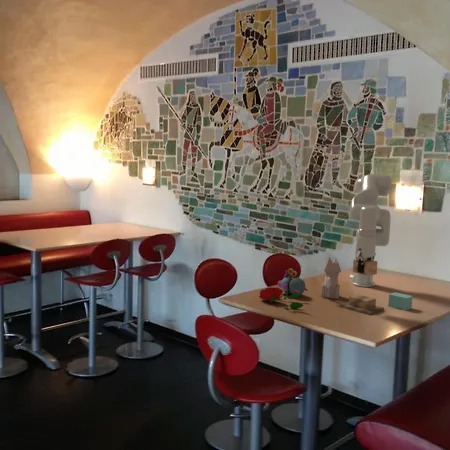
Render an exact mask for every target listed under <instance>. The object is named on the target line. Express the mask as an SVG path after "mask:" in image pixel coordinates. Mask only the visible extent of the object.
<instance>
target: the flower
mask: <svg viewBox="0 0 450 450" xmlns="http://www.w3.org/2000/svg"><path fill="white" fill-rule="evenodd" d="M282 293H284V291H283V290H282V288H280V287H279V286H277V287H270V286H269V287H266V288H264V289H260V292H259V295H258V297H259V299H261V300H262V301H269V304H272V303H273V302H275V301H277V302H281V303H286V301H285V300H287V299H289V300H290V299H295V298H299V297H301V296H302V294H292V293H291V294H289V296H288V294H284V297H283V294H282ZM282 297H283V300H282V299H281V298H282ZM287 303H289V305H288V304H287V305H285V307H284V308H283V309H284V310H287V307H290V309H294V310H297V309H301V308H302V307H304V305H310V303H308V302H307V303H306V302H298V301H287Z"/></svg>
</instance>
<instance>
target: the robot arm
mask: <svg viewBox="0 0 450 450" xmlns="http://www.w3.org/2000/svg"><path fill="white" fill-rule="evenodd" d="M392 182H393V181H392V177H391V176H390V175H388V174H380V173H379V174H376V173H375V174H374V173H371V174H370V173H369V174H366V175H364V176H363V177H361V178H358V179H357V182H356V188H357V191H358V193H356V195H354V196H353V197H352V199H351V202H350V208H349V216H350V219H352V220H354V221H359V226H358V229H357V230H356V233H355V238H356V244H355V251H354V252H355V254H354V258H355V259H356V260H357V264H358V269H357V272H359V273H364V261H365V259H368V260H373V261H375V257H376V255H377V253H376V247H387V246H388V245H389V242H390V235H391V234H390V233H391V232H390V231H391V213H390V211H389V210H388V209H387V208H380V207H379V205H378V199H379V196H380V195H383V196H388V195H389V194H390V193H391V190H392V186H393V183H392ZM377 227H379V228H377ZM361 259H362V261H361ZM359 273H352V274H351V273H350V275H349V279H352V281H351V284H352V285H354V286H356V287H361V288H362V287H363V288H372V287H376V282H374V281H373V278H374V275H371V276H368V275H363V274H359Z"/></svg>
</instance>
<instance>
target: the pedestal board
mask: <svg viewBox="0 0 450 450" xmlns="http://www.w3.org/2000/svg"><path fill="white" fill-rule="evenodd" d="M376 303H377V298H375V297H370V296H366V295H362V294H353V295H351V296H349V298H348V301H347V302H344V303H340V308H343V309H346V310H350V311H353V310H354V312H357V311H358V313H362V314H364V315H367V316H368V315H369V316H370V315H374V314H377V313H379V311H380V312H382V310H383V311H384V310H385V307H383V306H379V305H376Z"/></svg>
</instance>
